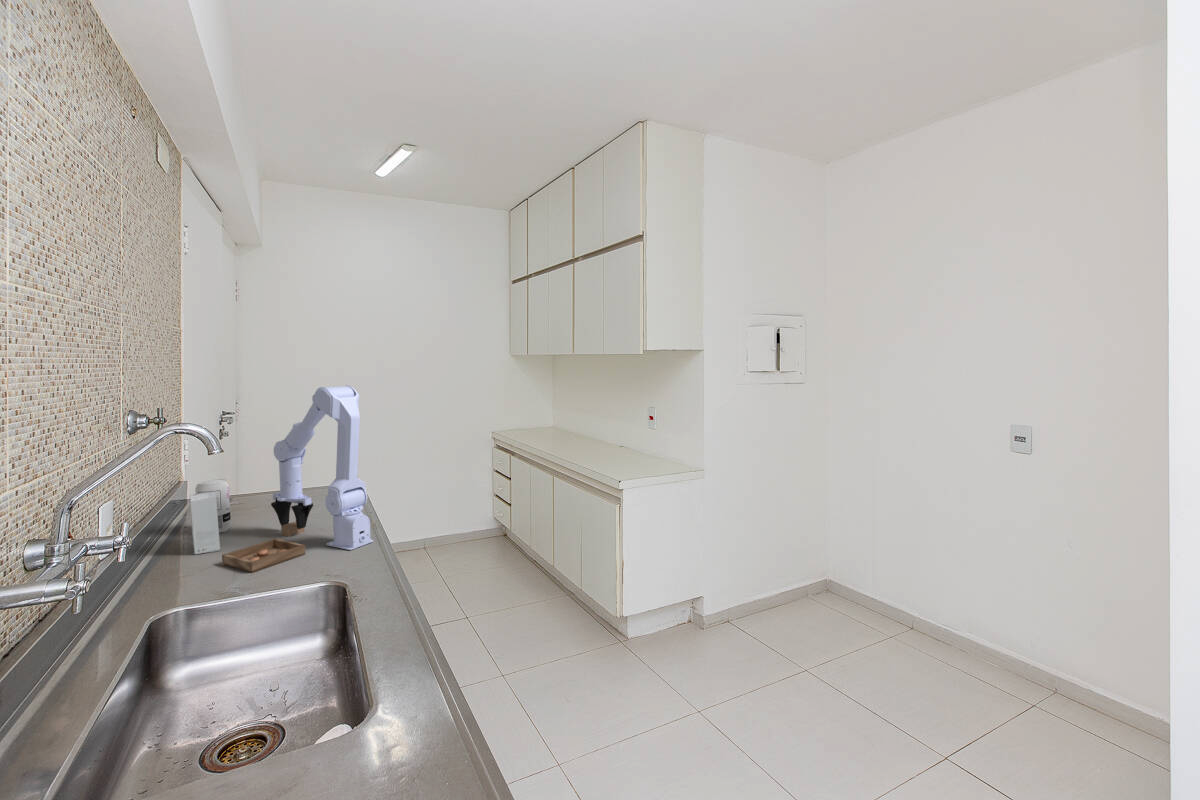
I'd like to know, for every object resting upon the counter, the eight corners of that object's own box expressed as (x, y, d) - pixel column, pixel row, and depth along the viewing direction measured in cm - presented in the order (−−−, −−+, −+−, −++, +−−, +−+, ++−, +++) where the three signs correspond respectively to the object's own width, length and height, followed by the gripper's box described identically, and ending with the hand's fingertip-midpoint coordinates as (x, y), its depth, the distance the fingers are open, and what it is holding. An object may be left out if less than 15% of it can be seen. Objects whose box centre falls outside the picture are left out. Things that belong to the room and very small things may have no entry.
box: (305, 554, 147) (304, 545, 147) (252, 572, 134) (251, 562, 134) (276, 547, 152) (275, 538, 152) (222, 564, 140) (221, 554, 139)
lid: (330, 531, 168) (329, 520, 168) (283, 547, 154) (282, 534, 154) (301, 525, 174) (301, 514, 173) (254, 540, 160) (253, 528, 160)
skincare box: (220, 550, 149) (217, 496, 148) (192, 555, 146) (189, 500, 145) (219, 542, 156) (216, 490, 155) (192, 546, 152) (189, 493, 151)
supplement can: (191, 533, 164) (188, 483, 163) (219, 525, 171) (217, 477, 170) (209, 536, 161) (206, 485, 160) (237, 528, 168) (235, 480, 167)
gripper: (262, 481, 162) (264, 526, 163) (294, 486, 156) (296, 533, 157) (284, 476, 169) (286, 520, 170) (317, 481, 162) (318, 526, 163)
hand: (293, 526), depth 164 cm, fingers open, 7 cm apart
